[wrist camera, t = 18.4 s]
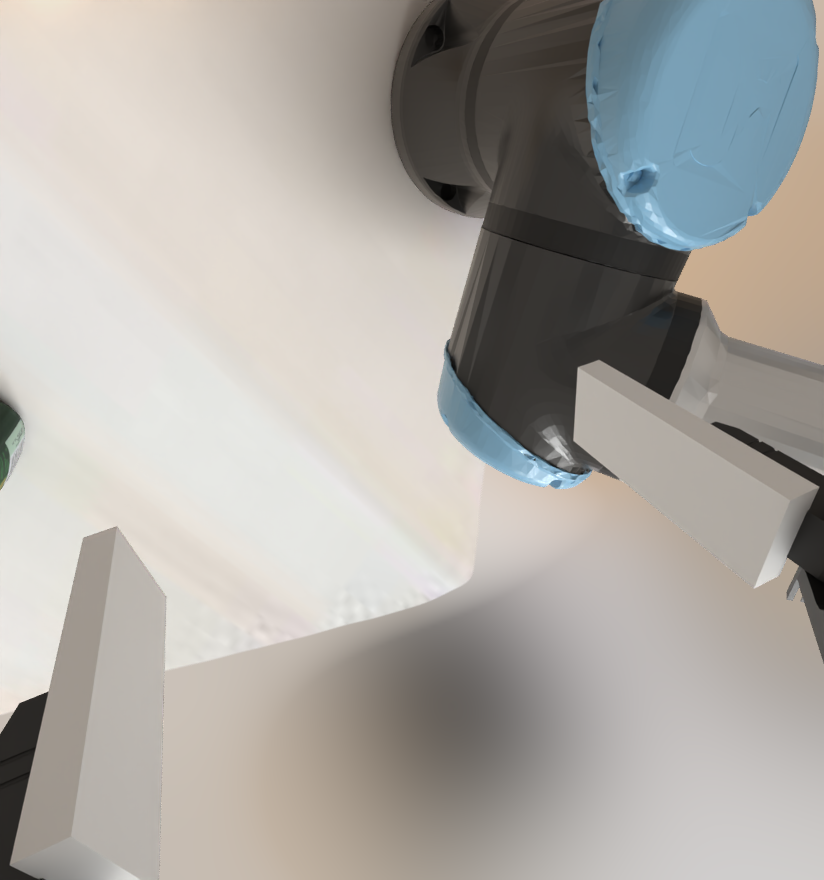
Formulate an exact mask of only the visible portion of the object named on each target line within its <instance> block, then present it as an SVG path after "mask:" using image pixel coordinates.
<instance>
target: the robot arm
mask: <svg viewBox="0 0 824 880" xmlns="http://www.w3.org/2000/svg"><path fill="white" fill-rule="evenodd" d="M815 35H816V15H815V10H814V5H813V1H812V0H433V1H432V2H431V3H430V4H429V5H428V6H427V7H426V9H425V10H424V11H423V12H422V13H421V15H420V16H419V17H418V19H417V20H416V22H415V23H414V25H413V26H412V28H411V30H410V32H409V33H408V35H407V37H406V40H405V42H404V44H403V46H402V49H401V52H400V55H399V58H398V61H397V64H396V68H395V73H394V78H393V85H392V95H391V118H392V127H393V133H394V138H395V142H396V146H397V149H398V153H399V155H400V158H401V161H402V163H403V165H404V167H405V169H406V171H407V173H408V175H409V176H410V178H411V179H412V181H413V182H414V184H415V185H416V186H417V187H418V189H419V190H420V191H421V192H422V193H423V194H424V195H425V196H426V197H427V198H428V199H430V200H431V201H432V202H434V203H435V204H437V205H438V206H440V207H442V208H444V209H446V210H449V211H451V212H454V213H457V214H460V215H463V216H467V217H473V218H484V222H483V225H482V227H481V231H480V235H479V238H478V242H477V245H476V249H475V253H474V256H473V260H472V263H471V267H470V270H469V274H468V278H467V281H466V285H465V288H464V292H463V295H462V299H461V303H460V306H459V310H458V313H457V317H456V320H455V324H454V327H453V331H452V335H451V338H450V339H449V340H448V341H447V343H446V345H445V348H444V359H445V361H444V366H443V370H442V375H441V379H440V384H439V388H438V395H437V401H438V408H439V411H440V414H441V416H442V418H443V420H444V422H445V424H446V425H447V426H448V427H449V429H450V431H451V433H452V434H453V436H454V437H455V438H456V439H457V440H458V441H459V442H460V443H461V444H462V445H463V446H464V447H465V448H466V449H467V450H469V451H470V452H471V453H472V454H473V455H475V456H476V457H477V458H479V459H480V460H482V461H483V462H485V463H486V464H488V465H490V466H491V467H493V468H495V469H496V470H498V471H500V472H502V473H504V474H506V475H508V476H510V477H513V478H515V479H518V480H520V481H522V482H525V483H528V484H532V485H536V486H540V487H546V486H547V485H551V486H552V487H554V488H555V489H567V488H571V487H574V486H576V485H578V484H579V483H581V482H582V481H583V480H585V479H586V478H588V477H589V476H590V474H591V472H592V470H594V471H597V472H599V473H602V474H605V475H607V476H610V477H612V478H615V479H618V480H620V481H623V482H624V483H626V484H627V485H628V486H629V487H631V488H632V489H633V490H634V491H635V492H636V493H638V494H639V495H640V496H642V497H643V498H644V499H645V500H646V501H647V502H649V503H650V504H651V505H652V506H654V507H655V508H656V509H657V510H658V511H660V512H661V513H662V514H663V515H665V516H666V517H667V518H668V519H670V520H671V521H672V522H673V523H674V524H676V525H677V526H678V527H679V528H680V529H682V530H683V531H684V532H685V533H687V534H688V535H689V536H690V537H691V538H693V539H694V540H695V541H696V542H697V543H699V544H700V545H701V546H702V547H704V548H705V549H706V550H707V551H708V552H710V553H711V554H712V555H713V556H715V557H716V558H717V559H718V560H720V561H721V562H722V563H723V564H724V565H726V566H727V567H728V568H729V569H730V570H732V571H733V572H734V573H735V574H737V575H738V576H739V577H740V578H741V579H743V580H744V581H745V582H746V583H748V584H749V585H750V586H751V587H752V588H756V587H758V586H760V585H762V584H764V583H765V582H768V581H770V580H772V579H774V578H776V577H778V576H779V575H780V573H781V571H782V569H783V566H784V564H785V562H786V560H787V557H788V558H789V559H790V560H792V561H793V562H794V563H796V564H797V565H799V567H798V570H797V571H796V574H795V576H794V578H793V580H792V582H791V584H790V586H789V588H788V590H787V600H793V599H794V596H795V595H796V592H797V591H798V589H799V588H800V590H801V593H802V596H803V597H802V599H801V602H804V603H805V606H806V608H807V612H808V615H809V618H810V621H811V625H812V628H813V631H814V634H815V637H816V640H817V643H818V646H819V650H820V653H821V656H822V659H823V662H824V365H821V364H817V363H814V362H811V361H807V360H804V359H801V358H797V357H794V356H790V355H787V354H784V353H781V352H777V351H774V350H770V349H767V348H764V347H761V346H757V345H754V344H751V343H747V342H744V341H741V340H737V339H734V338H731V337H728V336H727V335H725V334H724V333H722V332H721V331H720V329H719V327H718V324H717V322H716V320H715V318H714V315H713V313H712V311H711V309H710V307H709V305H708V302H707V301H706V300H704V299H701V298H697V297H693V296H690V295H687V294H684V293H680V292H677V291H675V290H674V287H675V285H676V282H677V281H678V278H679V276H680V274H681V272H682V270H683V268H684V266H685V263H686V261H687V259H688V257H689V254H690V253H691V251H692V250H694V249H700V248H703V247H706V246H711V245H715V244H717V243H719V242H722V241H724V240H726V239H727V238H729V237H731V236H733V235H735V234H736V233H737V232H739V231H740V230H741V229H742V228H744V227H745V225H746V221H747V216H754V215H757V214H758V213H759V212H760V211H761V210H762V209H763V208H764V207H765V206H766V205H767V204H768V202H769V201H770V200H771V198H772V197H773V196H774V194H775V193H776V191H777V190H778V188H779V186H780V185H781V183H782V182H783V180H784V178H785V176H786V175H787V173H788V171H789V169H790V167H791V165H792V163H793V161H794V159H795V157H796V154H797V152H798V150H799V147H800V144H801V142H802V139H803V136H804V133H805V130H806V127H807V124H808V121H809V117H810V113H811V109H812V104H813V100H814V95H815V89H816V82H817V67H818V56H819V48H818V46H817V44H816V38H815ZM165 627H166V595H165V594H164V593H163V591H162V590H161V588H160V587H159V585H158V584H157V583H156V581H155V580H154V578H153V577H152V575H151V574H150V573H149V571H148V570H147V568H146V567H145V565H144V564H143V562H142V561H141V560H140V558H139V557H138V555H137V554H136V552H135V551H134V550H133V548H132V547H131V545H130V544H129V542H128V541H127V540H126V538H125V537H124V535H123V534H122V532H121V531H120V530H119V528H118V527H117V526H116V527H113V528H110V529H108V530H105V531H102V532H99V533H96V534H93V535H90V536H87V537H84V538H83V542H82V546H81V550H80V555H79V559H78V564H77V568H76V573H75V577H74V581H73V586H72V590H71V595H70V599H69V604H68V608H67V613H66V617H65V621H64V626H63V630H62V635H61V639H60V644H59V648H58V653H57V657H56V661H55V666H54V670H53V675H52V679H51V684H50V688H49V692H46V693H44V694H41V695H39V696H36V697H34V698H31V699H29V700H27V701H24V702H22V703H20V704H19V705H18V707H17V708H16V710H15V712H14V713H13V715H12V716H11V718H10V720H9V721H8V723H7V724H6V726H5V727H4V729H3V731H2V732H1V734H0V880H159V870H160V869H159V867H160V829H161V789H162V749H163V748H162V747H163V746H162V745H163V707H164V705H163V704H164V668H165Z"/></svg>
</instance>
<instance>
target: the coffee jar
mask: <svg viewBox="0 0 824 880" xmlns="http://www.w3.org/2000/svg"><path fill="white" fill-rule="evenodd" d="M24 435H25V428H24V424H23V422H22V420H21V418H20V416H19V415H18V414H17V413H16V412H15V411H14V410H13V409H12V408H11V407H9V406H8V405H6V404H4V403H2V402H0V490H1V489H2V487H3V486H4V484H5V483H6V481H7V480H8V478H9V476H10V475H11V473H12V471H13V469H14V467H15V466H16V463H17V461H18V459H19V457H20V454H21V452H22V448H23V443H24Z"/></svg>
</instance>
